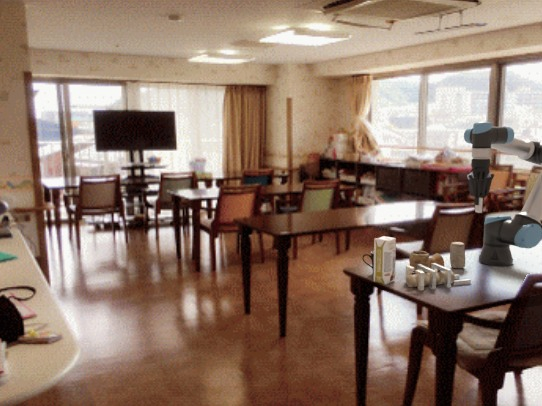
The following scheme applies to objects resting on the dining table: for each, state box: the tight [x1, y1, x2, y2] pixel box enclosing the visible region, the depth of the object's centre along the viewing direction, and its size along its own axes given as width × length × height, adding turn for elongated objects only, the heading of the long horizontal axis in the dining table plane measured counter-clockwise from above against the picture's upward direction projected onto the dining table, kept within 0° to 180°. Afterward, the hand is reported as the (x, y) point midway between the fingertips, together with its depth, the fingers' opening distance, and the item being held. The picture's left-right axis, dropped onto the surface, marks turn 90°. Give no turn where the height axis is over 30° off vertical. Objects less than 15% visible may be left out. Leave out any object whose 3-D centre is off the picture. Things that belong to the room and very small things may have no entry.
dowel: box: [405, 270, 456, 288], centre depth 205 cm, size 20×5×5 cm, turn 105°
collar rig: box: [404, 263, 472, 291], centre depth 206 cm, size 25×12×7 cm, turn 106°
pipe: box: [408, 250, 446, 273], centre depth 223 cm, size 9×16×10 cm, turn 109°
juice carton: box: [373, 235, 397, 285], centre depth 210 cm, size 8×9×19 cm
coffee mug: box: [362, 250, 374, 275], centre depth 223 cm, size 12×9×10 cm
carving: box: [449, 241, 466, 269], centre depth 230 cm, size 6×8×12 cm
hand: (478, 212), depth 215 cm, fingers closed
